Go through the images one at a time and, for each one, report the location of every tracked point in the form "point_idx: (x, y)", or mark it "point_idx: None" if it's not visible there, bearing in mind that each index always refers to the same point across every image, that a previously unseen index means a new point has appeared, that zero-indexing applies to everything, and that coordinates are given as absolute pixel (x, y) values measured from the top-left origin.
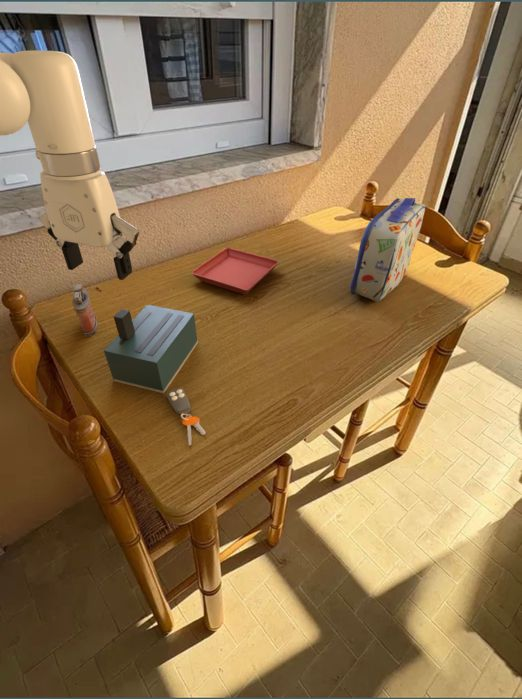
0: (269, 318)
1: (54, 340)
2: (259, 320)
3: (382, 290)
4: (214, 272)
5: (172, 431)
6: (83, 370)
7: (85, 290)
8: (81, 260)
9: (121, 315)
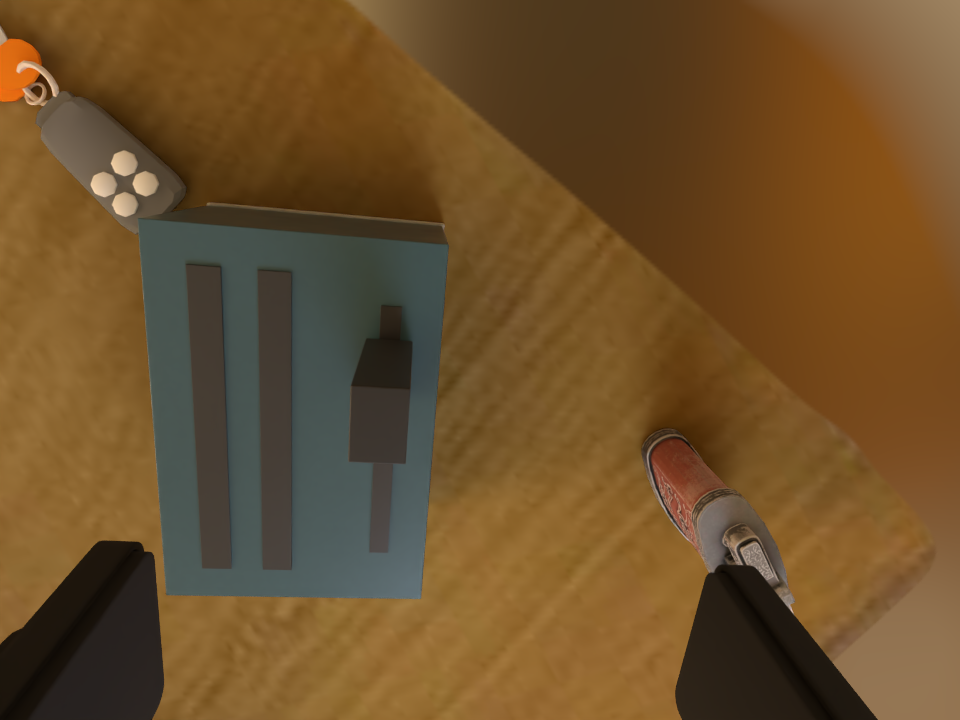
0: None
1: (775, 379)
2: None
3: None
4: None
5: (67, 9)
6: (587, 252)
7: None
8: (689, 710)
9: (368, 409)
